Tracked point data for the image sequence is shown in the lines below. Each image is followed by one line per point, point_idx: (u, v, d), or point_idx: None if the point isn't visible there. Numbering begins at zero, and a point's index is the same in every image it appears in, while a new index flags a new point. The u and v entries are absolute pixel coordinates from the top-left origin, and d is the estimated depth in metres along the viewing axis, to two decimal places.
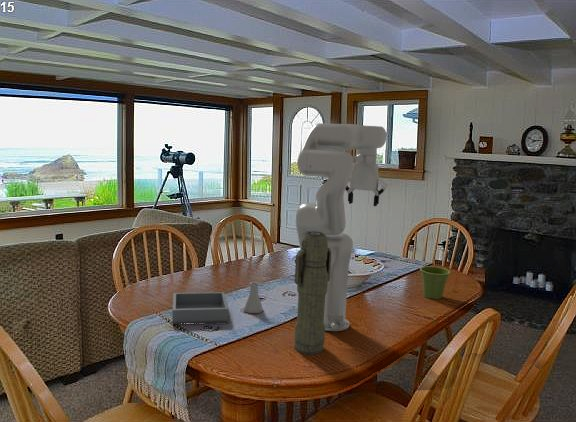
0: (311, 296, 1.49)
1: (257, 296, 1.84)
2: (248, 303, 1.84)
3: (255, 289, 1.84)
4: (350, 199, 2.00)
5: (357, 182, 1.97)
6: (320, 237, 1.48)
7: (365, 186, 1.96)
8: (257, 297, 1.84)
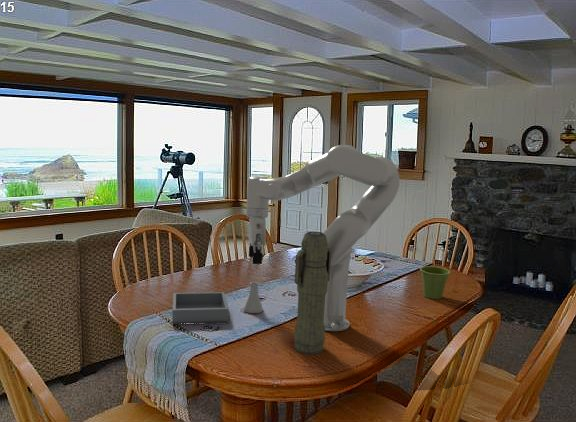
0: (311, 296, 1.49)
1: (257, 296, 1.84)
2: (248, 303, 1.84)
3: (255, 289, 1.84)
4: None
5: None
6: (320, 237, 1.48)
7: None
8: (257, 297, 1.84)
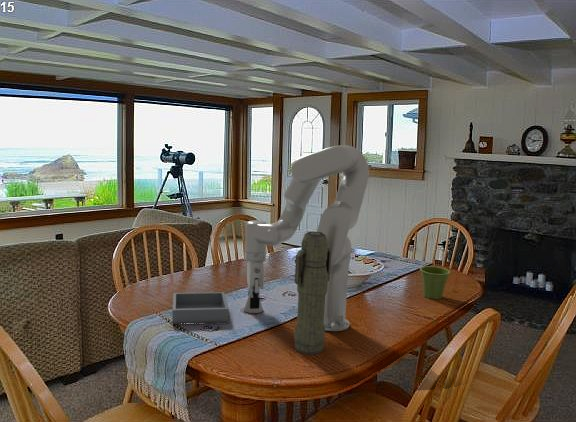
0: (311, 296, 1.49)
1: None
2: (248, 303, 1.84)
3: None
4: (258, 303, 1.83)
5: None
6: (320, 237, 1.48)
7: None
8: None
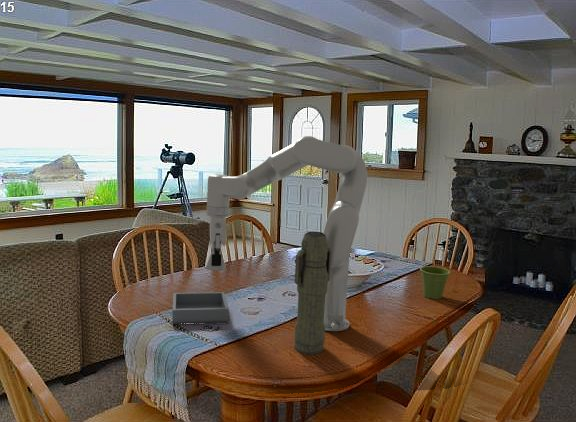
0: (311, 296, 1.49)
1: None
2: (210, 260, 1.77)
3: None
4: (220, 260, 1.76)
5: None
6: (320, 237, 1.48)
7: None
8: None
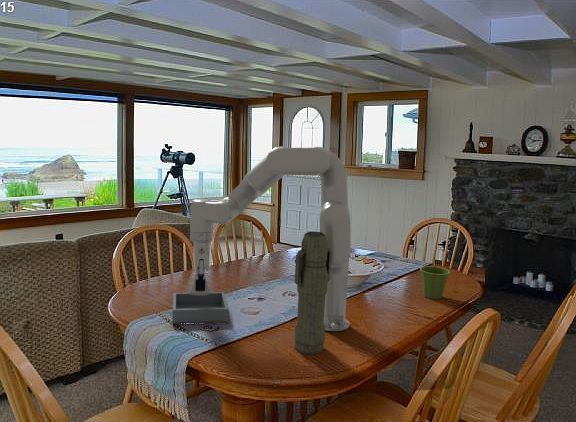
0: (311, 296, 1.49)
1: None
2: (194, 285, 1.76)
3: None
4: (204, 285, 1.75)
5: None
6: (320, 237, 1.48)
7: None
8: None
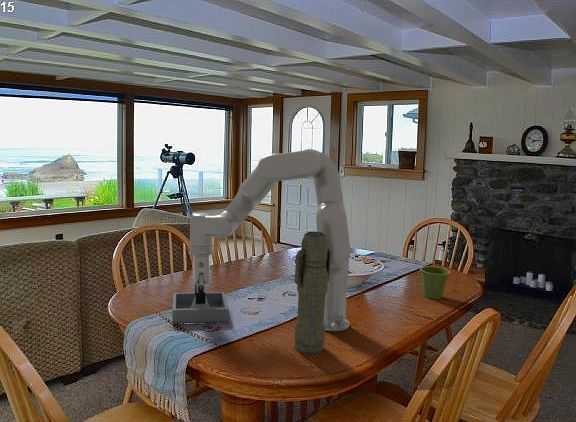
0: (311, 296, 1.49)
1: None
2: (194, 304, 1.77)
3: None
4: (204, 298, 1.75)
5: None
6: (320, 237, 1.48)
7: None
8: None
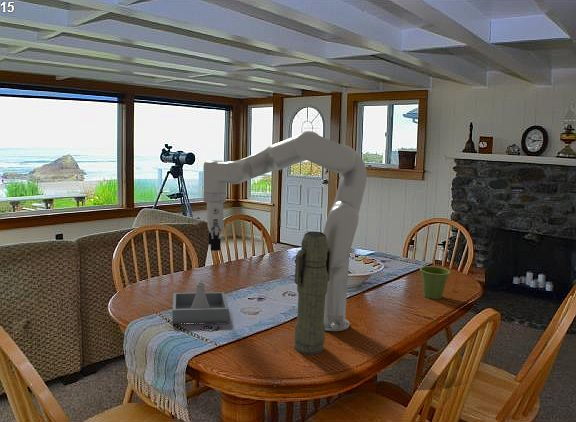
0: (311, 296, 1.49)
1: (204, 297, 1.77)
2: (194, 304, 1.77)
3: (201, 290, 1.77)
4: None
5: None
6: (320, 237, 1.48)
7: None
8: (204, 298, 1.77)
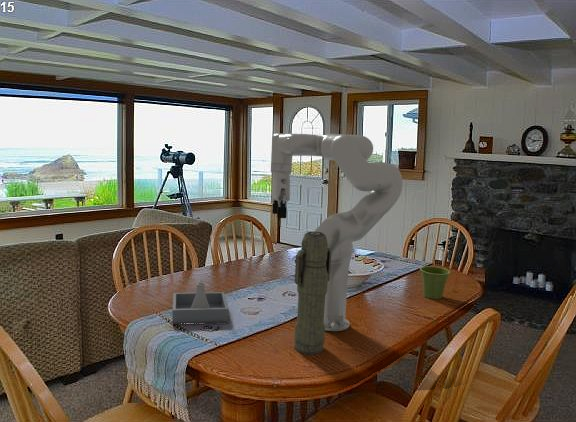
0: (311, 296, 1.49)
1: (204, 297, 1.77)
2: (194, 304, 1.77)
3: (201, 290, 1.77)
4: (285, 213, 1.84)
5: None
6: (320, 237, 1.48)
7: None
8: (204, 298, 1.77)
